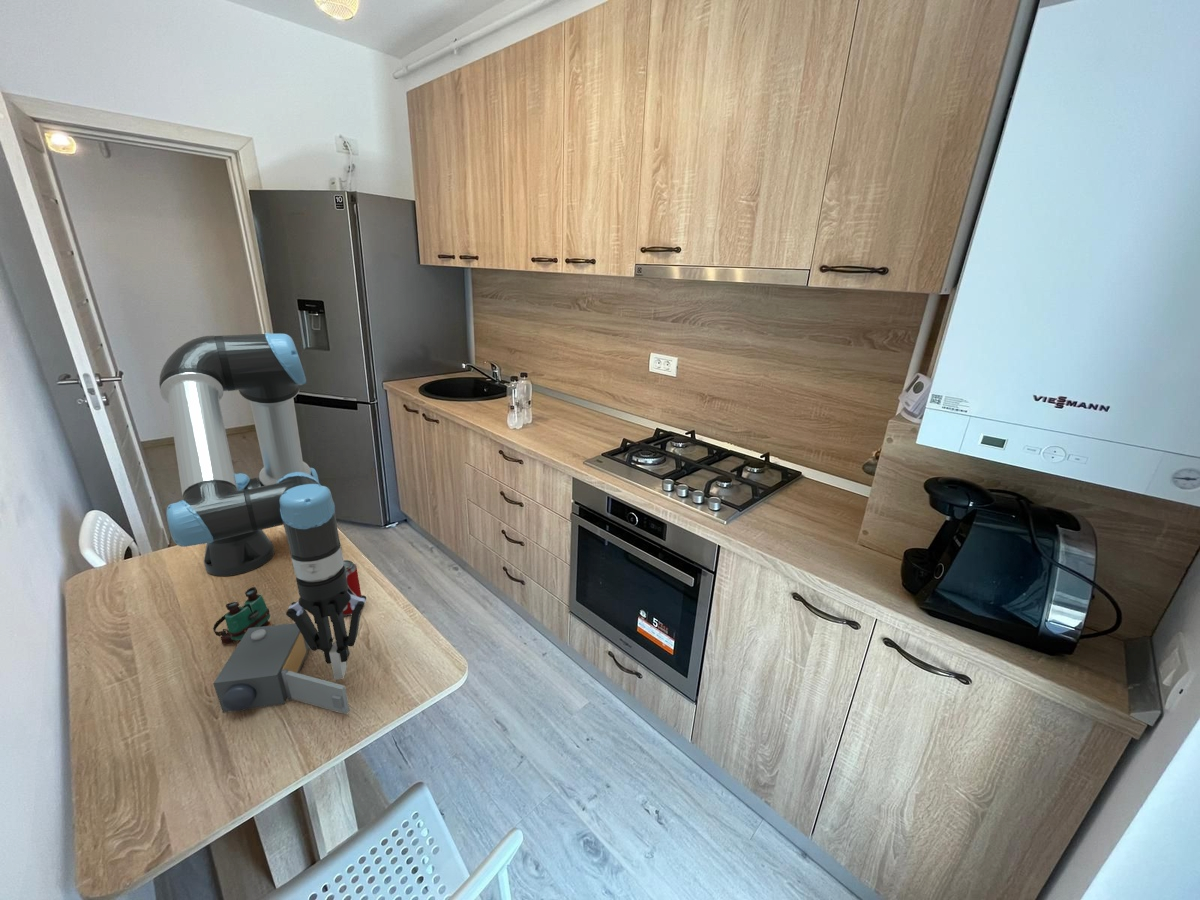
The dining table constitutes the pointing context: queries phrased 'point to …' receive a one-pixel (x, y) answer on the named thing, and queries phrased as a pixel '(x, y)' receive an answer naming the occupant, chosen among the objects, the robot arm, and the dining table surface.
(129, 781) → the dining table surface
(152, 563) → the dining table surface
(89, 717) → the dining table surface
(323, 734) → the dining table surface
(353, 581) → the beverage can
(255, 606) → the binoculars
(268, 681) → the camera body
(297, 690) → the side door
